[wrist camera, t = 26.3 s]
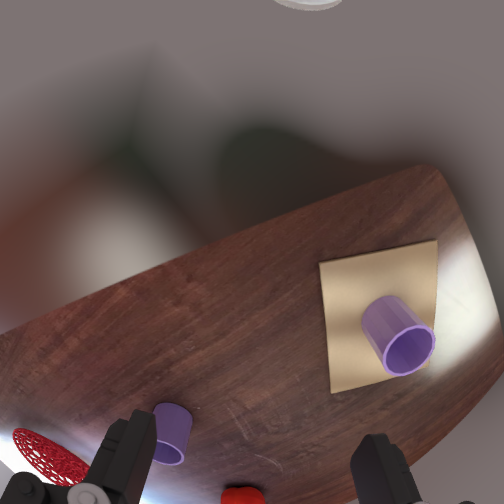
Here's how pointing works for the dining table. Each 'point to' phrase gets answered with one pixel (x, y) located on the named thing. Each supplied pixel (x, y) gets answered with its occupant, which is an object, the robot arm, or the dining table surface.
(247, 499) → the tomato
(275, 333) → the dining table surface
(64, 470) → the bowl
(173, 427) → the lilac cup
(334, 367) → the mat
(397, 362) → the lavender cup
